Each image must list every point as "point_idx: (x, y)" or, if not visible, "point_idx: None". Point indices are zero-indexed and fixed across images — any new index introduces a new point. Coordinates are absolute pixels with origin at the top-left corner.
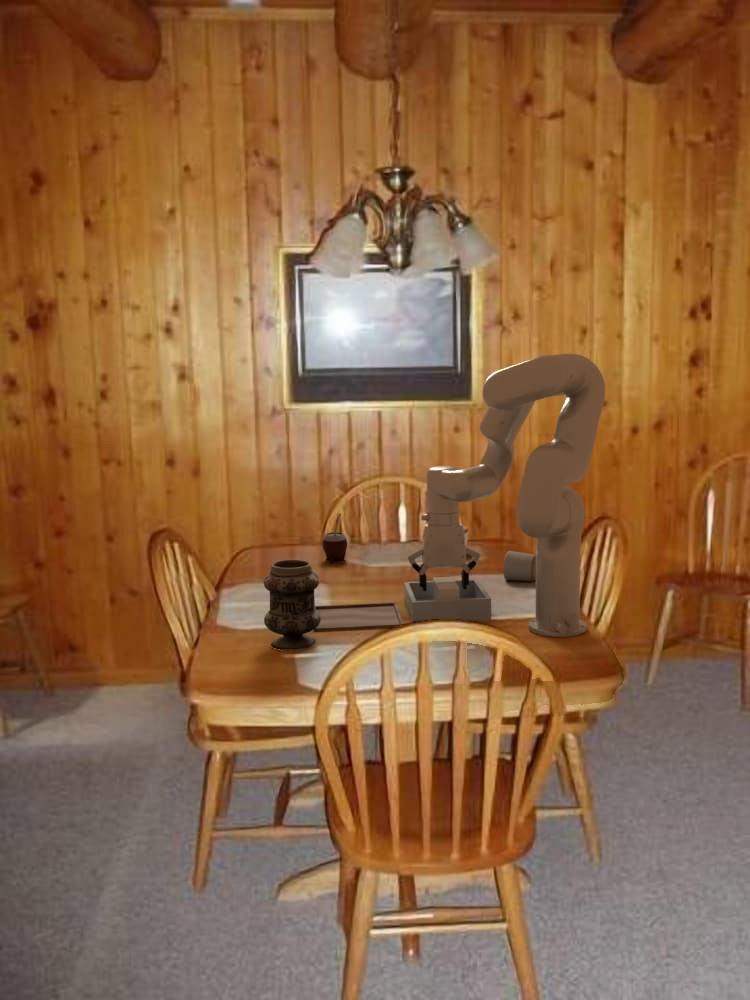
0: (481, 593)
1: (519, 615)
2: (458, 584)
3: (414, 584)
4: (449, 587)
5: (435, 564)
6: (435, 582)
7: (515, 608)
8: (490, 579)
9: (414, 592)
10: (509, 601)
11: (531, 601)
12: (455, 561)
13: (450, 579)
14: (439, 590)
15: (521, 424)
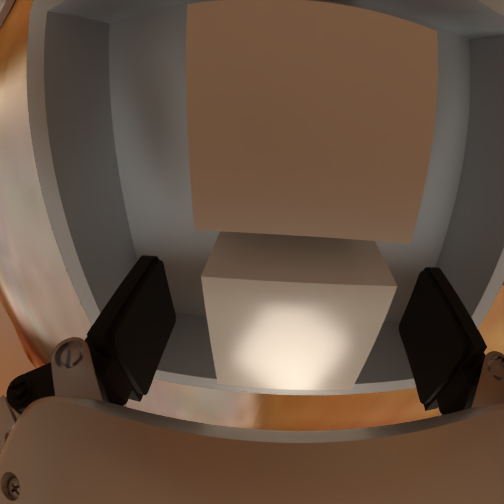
0: (61, 153)
1: (18, 95)
2: (197, 361)
3: (409, 372)
4: (305, 51)
5: (472, 449)
6: (396, 287)
7: (27, 179)
8: (138, 409)
9: (401, 343)
10: (52, 259)
11: (12, 246)
12: (115, 485)
13: (241, 342)
14: (422, 29)
15: None
